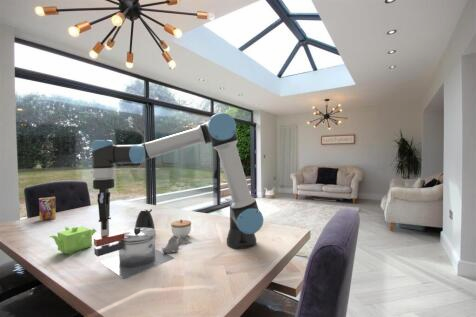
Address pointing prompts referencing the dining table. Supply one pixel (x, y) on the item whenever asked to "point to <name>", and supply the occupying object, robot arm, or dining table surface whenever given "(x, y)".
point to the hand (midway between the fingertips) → (105, 236)
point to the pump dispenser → (145, 220)
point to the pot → (130, 252)
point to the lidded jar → (181, 228)
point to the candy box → (47, 208)
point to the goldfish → (175, 244)
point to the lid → (126, 236)
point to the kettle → (74, 239)
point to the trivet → (127, 272)
